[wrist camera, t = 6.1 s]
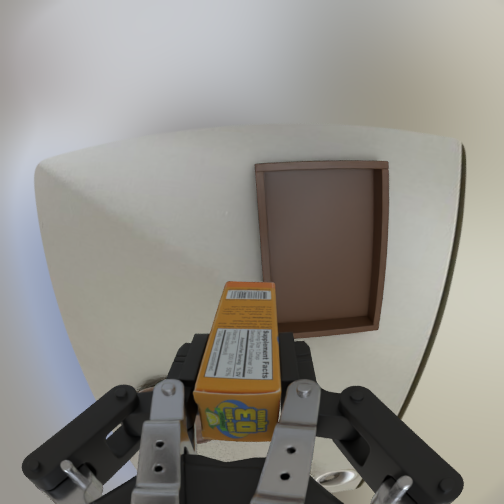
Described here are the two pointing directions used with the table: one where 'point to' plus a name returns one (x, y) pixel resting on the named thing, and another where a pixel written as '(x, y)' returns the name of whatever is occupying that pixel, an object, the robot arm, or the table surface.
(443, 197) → the table surface
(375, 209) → the tray
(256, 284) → the supplement box
